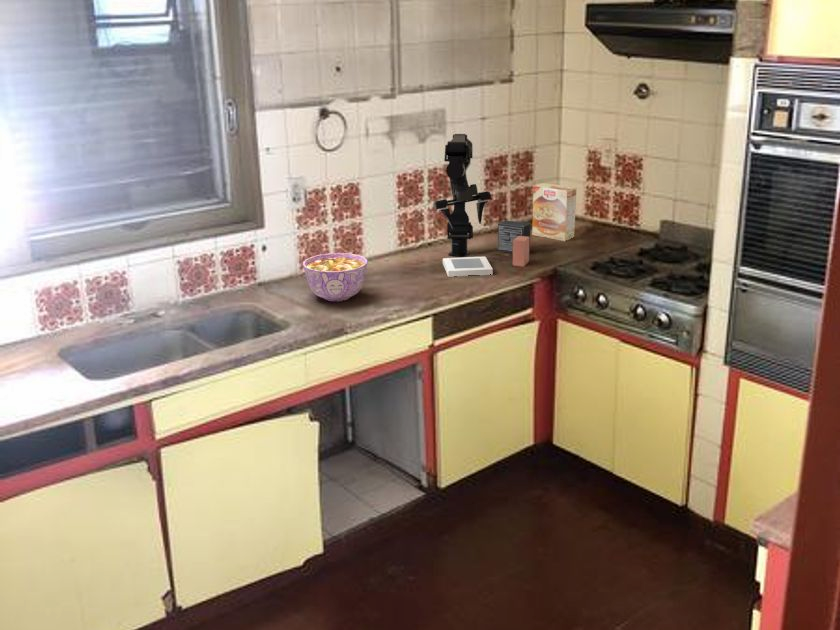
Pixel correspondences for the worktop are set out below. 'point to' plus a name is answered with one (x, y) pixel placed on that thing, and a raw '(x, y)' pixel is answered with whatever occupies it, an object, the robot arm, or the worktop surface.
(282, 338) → the worktop surface
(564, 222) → the coffeecake box
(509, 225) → the small box
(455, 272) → the base plate
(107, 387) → the worktop surface
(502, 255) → the worktop surface
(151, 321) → the worktop surface
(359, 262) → the bowl of food
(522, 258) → the slim brick
